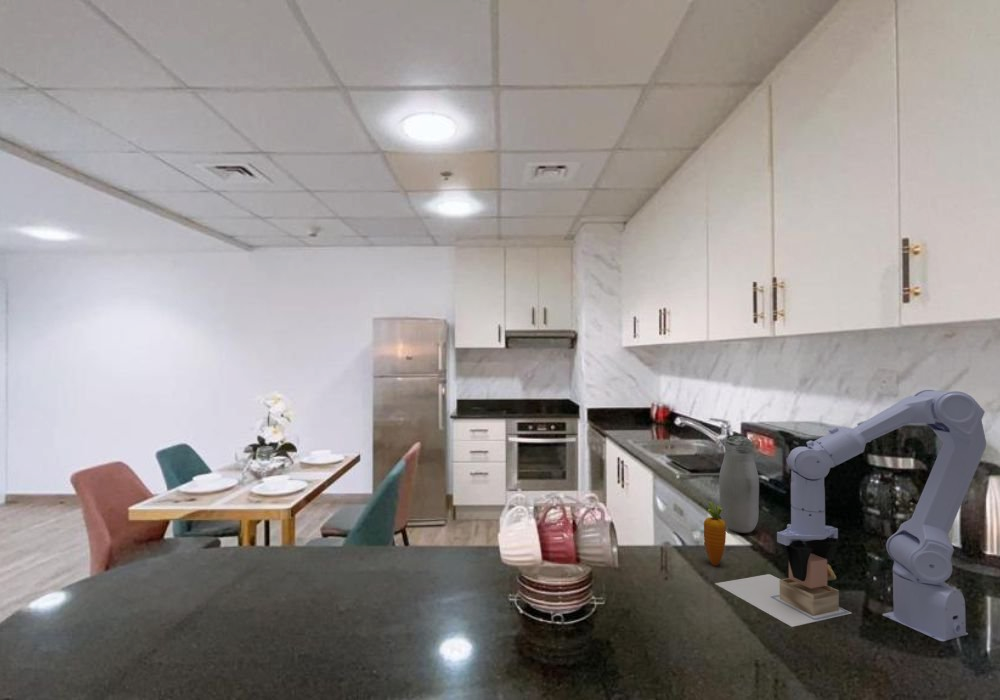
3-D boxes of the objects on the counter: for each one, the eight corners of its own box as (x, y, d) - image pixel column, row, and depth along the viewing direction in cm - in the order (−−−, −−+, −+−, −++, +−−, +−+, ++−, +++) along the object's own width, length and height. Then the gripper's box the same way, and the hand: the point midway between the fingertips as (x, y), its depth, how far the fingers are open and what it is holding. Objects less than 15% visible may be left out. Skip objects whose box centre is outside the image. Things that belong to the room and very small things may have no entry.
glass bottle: (712, 527, 140) (712, 434, 142) (739, 524, 143) (739, 433, 145) (738, 538, 131) (738, 438, 132) (766, 535, 134) (766, 438, 135)
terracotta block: (827, 585, 91) (827, 559, 91) (810, 588, 90) (810, 562, 90) (804, 575, 96) (804, 550, 96) (788, 578, 94) (788, 553, 94)
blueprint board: (852, 616, 89) (852, 612, 89) (791, 630, 84) (791, 626, 84) (769, 576, 106) (769, 573, 106) (714, 586, 101) (714, 583, 101)
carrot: (729, 572, 108) (728, 507, 109) (706, 570, 109) (706, 505, 110) (723, 563, 113) (723, 501, 114) (701, 561, 114) (701, 499, 115)
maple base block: (838, 610, 90) (838, 590, 90) (813, 616, 88) (813, 595, 88) (804, 593, 97) (804, 575, 97) (779, 598, 94) (779, 579, 95)
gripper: (813, 500, 99) (814, 564, 99) (763, 505, 94) (763, 573, 94) (848, 509, 93) (849, 578, 92) (795, 515, 88) (796, 589, 87)
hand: (808, 577), depth 93 cm, fingers closed on terracotta block, 5 cm apart
